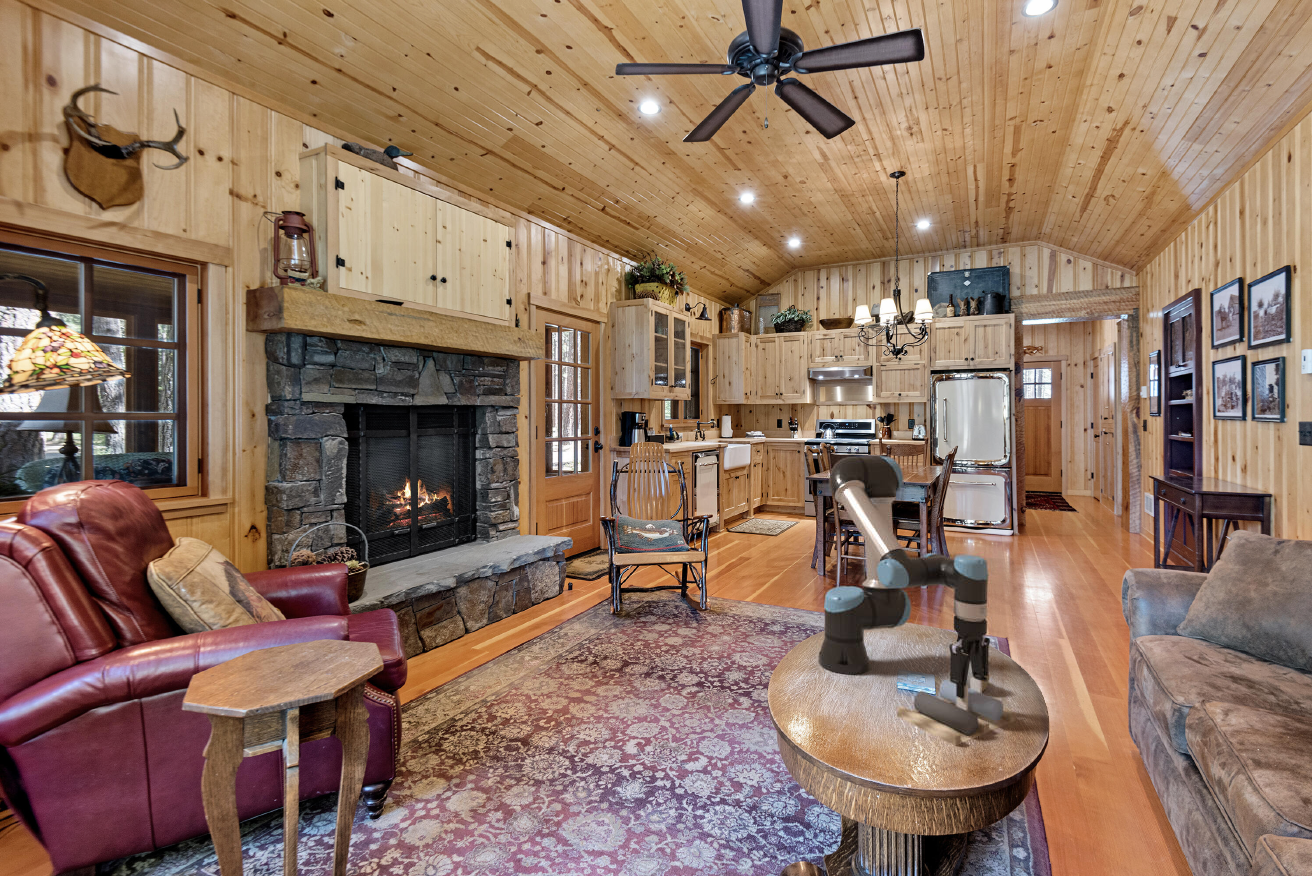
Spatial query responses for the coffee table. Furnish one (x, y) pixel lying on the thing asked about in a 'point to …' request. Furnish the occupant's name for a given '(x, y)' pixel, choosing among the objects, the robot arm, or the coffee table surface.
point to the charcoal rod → (946, 713)
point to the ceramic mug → (970, 675)
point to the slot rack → (949, 732)
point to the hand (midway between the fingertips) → (969, 706)
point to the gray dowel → (974, 701)
